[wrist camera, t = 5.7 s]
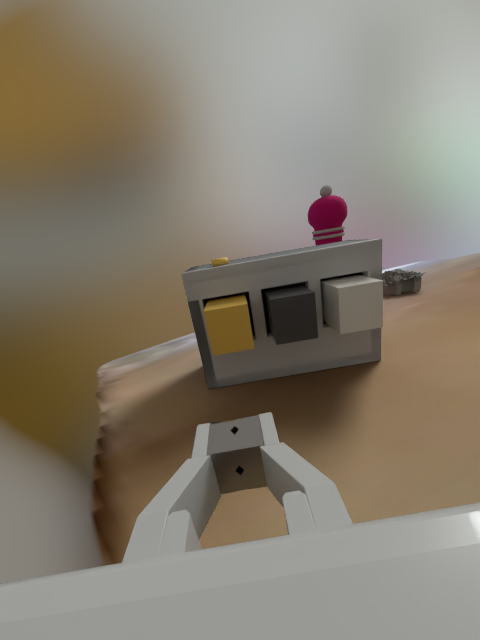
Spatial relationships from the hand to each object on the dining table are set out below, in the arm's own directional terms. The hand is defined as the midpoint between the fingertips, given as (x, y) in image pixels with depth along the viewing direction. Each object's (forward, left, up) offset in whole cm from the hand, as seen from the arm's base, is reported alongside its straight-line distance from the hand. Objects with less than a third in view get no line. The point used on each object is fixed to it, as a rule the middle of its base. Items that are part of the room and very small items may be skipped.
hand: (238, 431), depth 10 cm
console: (-5, -17, -7) cm, 19 cm away
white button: (-11, -13, -2) cm, 17 cm away
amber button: (0, -13, -2) cm, 13 cm away
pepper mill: (-17, -34, -7) cm, 39 cm away
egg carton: (-32, -40, -7) cm, 52 cm away
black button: (-5, -13, -2) cm, 14 cm away
